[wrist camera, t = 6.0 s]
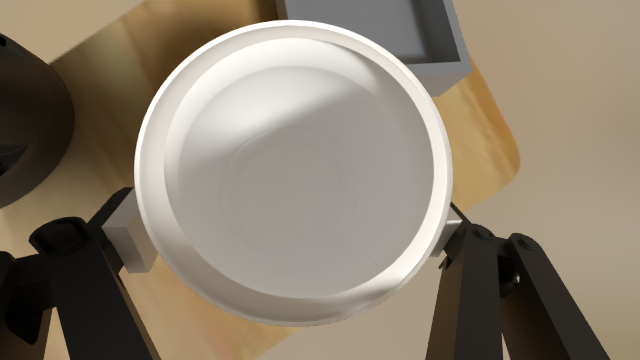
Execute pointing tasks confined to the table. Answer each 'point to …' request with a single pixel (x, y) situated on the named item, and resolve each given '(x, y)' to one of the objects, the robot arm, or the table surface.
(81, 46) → the table surface
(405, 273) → the jar
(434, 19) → the footed square tray
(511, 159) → the table surface
